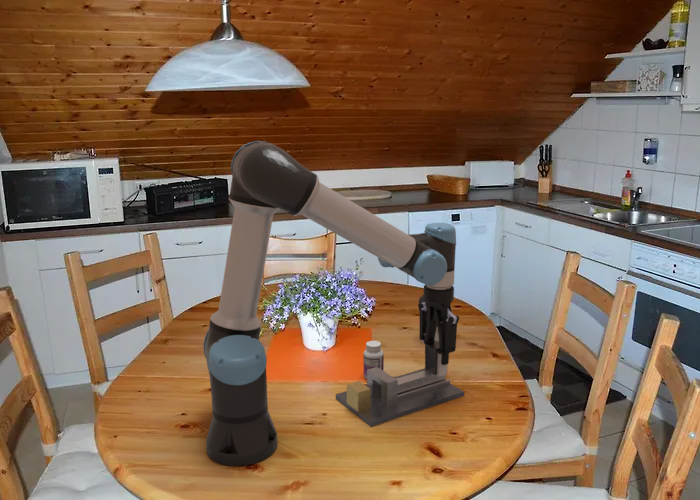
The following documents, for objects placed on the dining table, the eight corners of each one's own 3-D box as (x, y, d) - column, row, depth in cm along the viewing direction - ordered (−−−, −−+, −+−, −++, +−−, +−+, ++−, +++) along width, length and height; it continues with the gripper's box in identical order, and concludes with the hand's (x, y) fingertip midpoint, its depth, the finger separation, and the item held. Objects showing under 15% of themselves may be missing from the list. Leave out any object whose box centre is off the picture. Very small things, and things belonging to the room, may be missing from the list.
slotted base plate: (424, 372, 167) (425, 346, 166) (464, 395, 154) (465, 368, 152) (335, 398, 153) (335, 370, 151) (371, 426, 140) (371, 396, 138)
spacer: (370, 408, 146) (358, 412, 144) (358, 399, 150) (346, 403, 148) (370, 388, 145) (358, 392, 143) (358, 380, 149) (346, 384, 147)
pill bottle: (371, 370, 169) (371, 337, 166) (387, 376, 166) (387, 342, 163) (359, 377, 165) (359, 344, 162) (375, 383, 161) (375, 348, 159)
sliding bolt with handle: (436, 376, 162) (437, 340, 159) (446, 382, 158) (447, 345, 156) (386, 391, 154) (387, 354, 151) (396, 397, 150) (396, 359, 148)
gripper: (473, 291, 148) (469, 380, 153) (429, 274, 162) (426, 357, 167) (449, 296, 144) (446, 388, 149) (406, 279, 158) (404, 363, 164)
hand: (436, 371), depth 158 cm, fingers closed on sliding bolt with handle, 4 cm apart
